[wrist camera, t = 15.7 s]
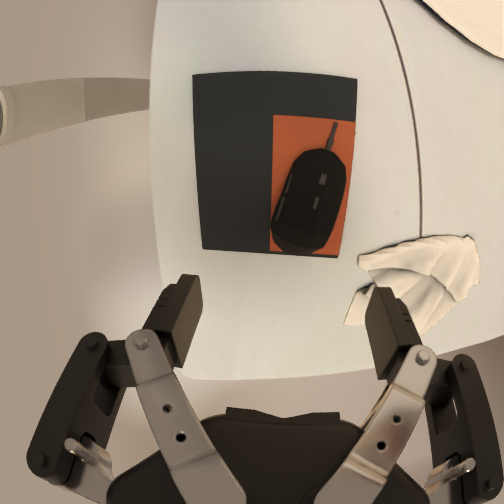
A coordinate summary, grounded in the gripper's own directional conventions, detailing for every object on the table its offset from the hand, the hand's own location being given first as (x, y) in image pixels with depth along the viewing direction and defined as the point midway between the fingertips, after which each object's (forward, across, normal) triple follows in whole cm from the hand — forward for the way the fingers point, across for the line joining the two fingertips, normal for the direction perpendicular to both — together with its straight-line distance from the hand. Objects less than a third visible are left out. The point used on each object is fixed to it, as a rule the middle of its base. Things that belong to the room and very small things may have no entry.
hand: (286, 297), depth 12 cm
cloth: (+18, -19, +12) cm, 29 cm away
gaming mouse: (+18, -3, 0) cm, 18 cm away
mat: (+18, +1, -1) cm, 18 cm away
